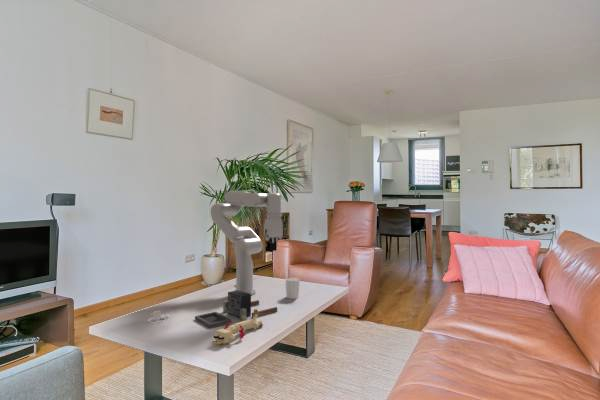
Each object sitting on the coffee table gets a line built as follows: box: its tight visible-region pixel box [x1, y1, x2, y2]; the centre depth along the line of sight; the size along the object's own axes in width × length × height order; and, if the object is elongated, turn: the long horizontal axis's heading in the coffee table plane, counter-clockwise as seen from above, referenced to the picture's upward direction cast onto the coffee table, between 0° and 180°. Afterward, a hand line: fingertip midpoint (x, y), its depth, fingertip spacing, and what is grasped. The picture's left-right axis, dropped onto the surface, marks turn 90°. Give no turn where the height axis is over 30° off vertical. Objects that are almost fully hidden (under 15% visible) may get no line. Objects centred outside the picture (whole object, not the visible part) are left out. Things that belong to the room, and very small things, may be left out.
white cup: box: [285, 277, 301, 300], centre depth 196 cm, size 8×8×10 cm
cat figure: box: [212, 308, 264, 346], centre depth 141 cm, size 10×9×25 cm
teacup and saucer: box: [147, 310, 170, 324], centre depth 159 cm, size 9×8×4 cm
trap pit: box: [194, 311, 233, 329], centre depth 157 cm, size 14×10×2 cm
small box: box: [227, 290, 252, 319], centre depth 166 cm, size 11×6×10 cm, turn 47°
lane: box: [222, 299, 278, 322], centre depth 170 cm, size 17×20×5 cm
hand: (273, 250), depth 190 cm, fingers closed
